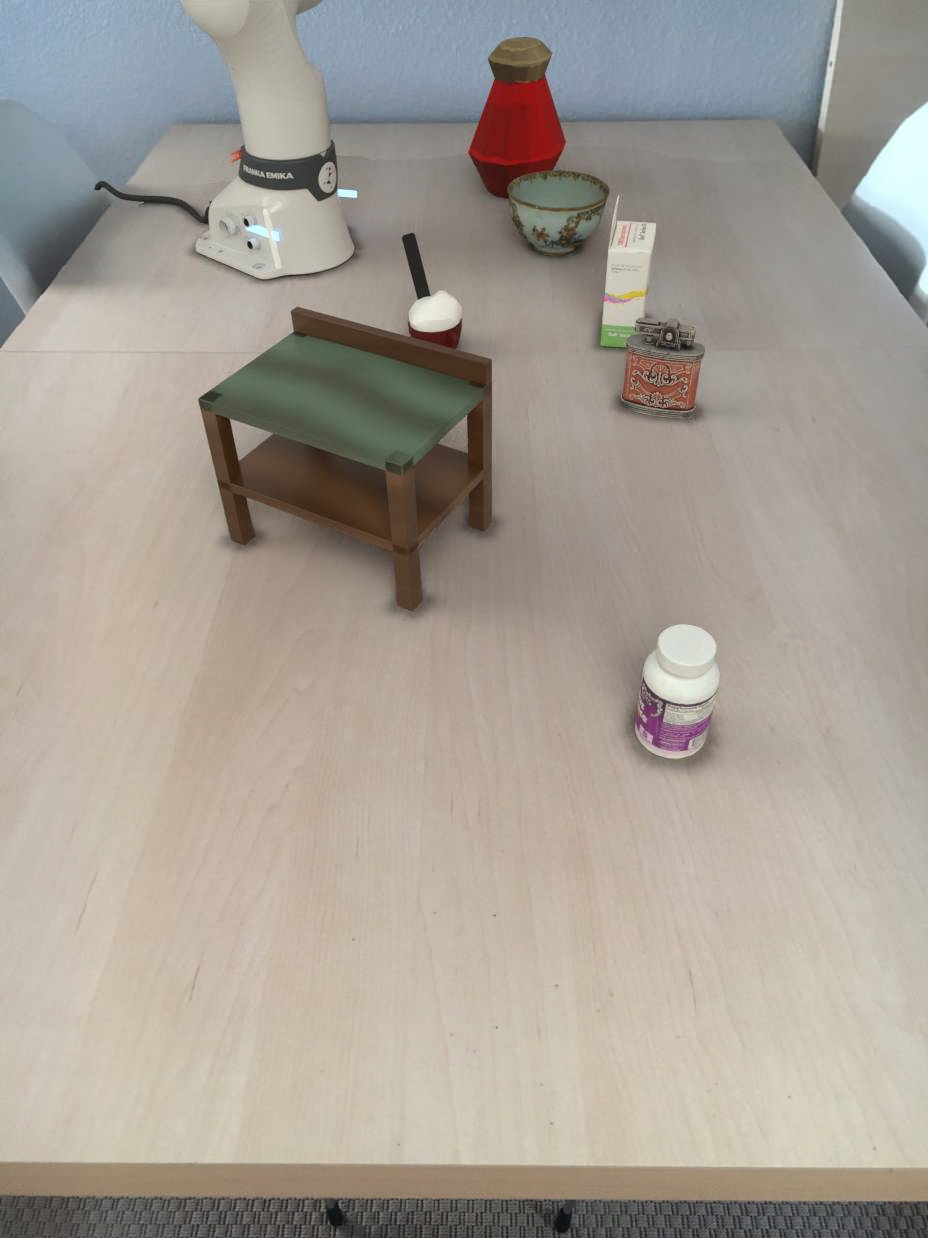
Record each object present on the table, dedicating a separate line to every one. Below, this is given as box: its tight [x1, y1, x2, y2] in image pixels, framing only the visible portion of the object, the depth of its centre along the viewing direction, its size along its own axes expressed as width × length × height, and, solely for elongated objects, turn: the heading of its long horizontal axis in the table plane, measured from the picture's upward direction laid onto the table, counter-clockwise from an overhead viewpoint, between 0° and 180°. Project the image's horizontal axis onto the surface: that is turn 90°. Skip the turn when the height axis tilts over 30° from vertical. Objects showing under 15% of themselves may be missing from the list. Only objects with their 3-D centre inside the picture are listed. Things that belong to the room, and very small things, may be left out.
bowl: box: [507, 169, 610, 257], centre depth 134 cm, size 14×13×8 cm
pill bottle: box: [634, 623, 721, 760], centre depth 71 cm, size 5×5×10 cm
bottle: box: [467, 36, 567, 199], centre depth 146 cm, size 16×14×20 cm
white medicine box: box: [599, 194, 657, 349], centre depth 114 cm, size 9×5×15 cm, turn 168°
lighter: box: [619, 317, 706, 419], centre depth 103 cm, size 8×3×10 cm, turn 71°
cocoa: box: [401, 232, 463, 350], centre depth 113 cm, size 10×6×12 cm, turn 9°
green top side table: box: [197, 306, 493, 612], centre depth 86 cm, size 14×20×17 cm
